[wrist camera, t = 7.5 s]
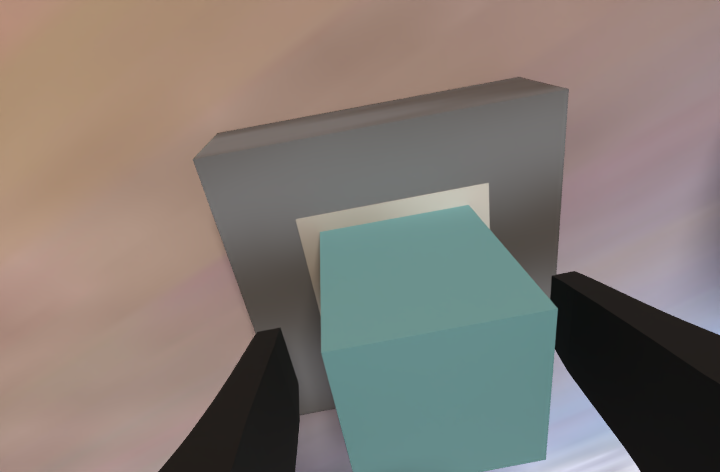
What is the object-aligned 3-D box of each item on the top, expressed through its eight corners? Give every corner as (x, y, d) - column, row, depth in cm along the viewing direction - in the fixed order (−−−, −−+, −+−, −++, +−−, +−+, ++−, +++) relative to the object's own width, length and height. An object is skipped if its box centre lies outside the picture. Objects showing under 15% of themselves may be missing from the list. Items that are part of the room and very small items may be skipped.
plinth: (515, 316, 18) (550, 368, 15) (291, 360, 18) (286, 418, 15) (519, 76, 13) (569, 89, 11) (217, 133, 13) (192, 159, 11)
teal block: (473, 322, 14) (545, 459, 10) (345, 346, 14) (359, 495, 10) (468, 204, 12) (557, 308, 8) (319, 231, 12) (320, 352, 7)
